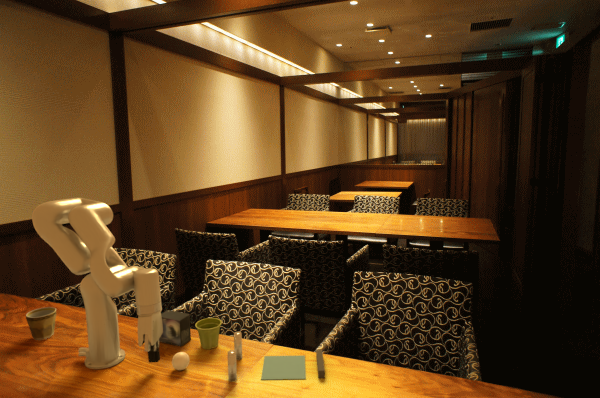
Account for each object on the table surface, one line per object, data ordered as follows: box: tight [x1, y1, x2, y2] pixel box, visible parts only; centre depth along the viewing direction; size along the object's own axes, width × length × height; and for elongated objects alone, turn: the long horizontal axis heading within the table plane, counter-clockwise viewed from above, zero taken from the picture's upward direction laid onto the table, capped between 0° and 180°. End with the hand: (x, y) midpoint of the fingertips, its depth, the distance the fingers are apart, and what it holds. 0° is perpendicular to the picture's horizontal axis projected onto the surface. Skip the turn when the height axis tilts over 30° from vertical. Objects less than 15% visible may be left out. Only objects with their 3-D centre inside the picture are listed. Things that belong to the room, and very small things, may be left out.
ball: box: [171, 351, 191, 371], centre depth 131 cm, size 6×6×6 cm
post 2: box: [233, 331, 243, 361], centre depth 137 cm, size 3×3×9 cm
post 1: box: [227, 349, 238, 383], centre depth 124 cm, size 3×3×9 cm
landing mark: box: [260, 355, 307, 381], centre depth 131 cm, size 14×14×1 cm
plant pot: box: [194, 317, 223, 350], centre depth 146 cm, size 9×9×9 cm
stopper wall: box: [315, 349, 326, 379], centre depth 131 cm, size 2×13×2 cm, turn 1°
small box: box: [159, 309, 192, 348], centre depth 150 cm, size 11×6×10 cm, turn 68°
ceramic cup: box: [25, 306, 57, 341], centre depth 155 cm, size 13×10×10 cm
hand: (154, 360), depth 130 cm, fingers closed
